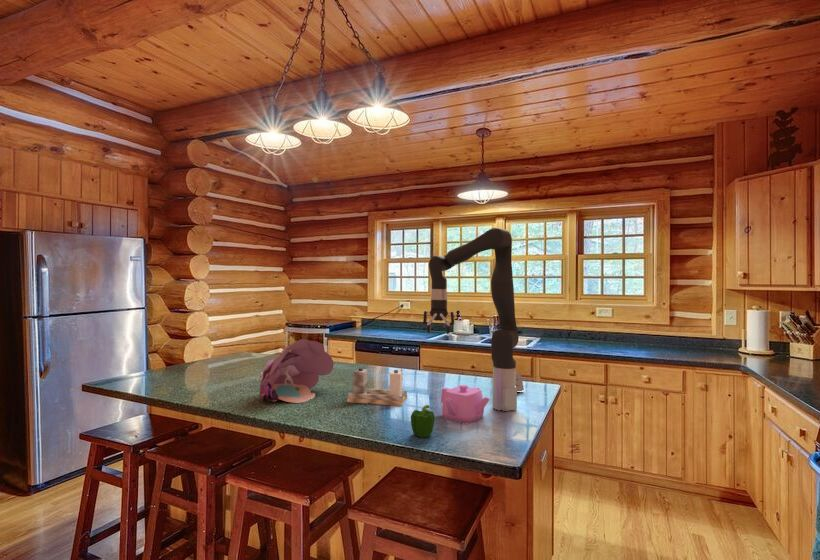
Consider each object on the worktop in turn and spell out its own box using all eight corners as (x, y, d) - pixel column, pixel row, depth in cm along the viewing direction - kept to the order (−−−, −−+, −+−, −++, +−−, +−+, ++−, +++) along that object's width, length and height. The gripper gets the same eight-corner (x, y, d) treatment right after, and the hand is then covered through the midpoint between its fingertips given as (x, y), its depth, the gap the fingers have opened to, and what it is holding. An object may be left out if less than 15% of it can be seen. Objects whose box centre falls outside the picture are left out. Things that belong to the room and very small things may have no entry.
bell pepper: (414, 440, 141) (414, 410, 141) (407, 432, 149) (408, 403, 149) (438, 438, 143) (438, 408, 143) (430, 430, 151) (431, 401, 151)
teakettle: (478, 410, 176) (478, 380, 176) (490, 424, 159) (491, 390, 159) (437, 411, 174) (437, 380, 174) (445, 425, 157) (446, 391, 157)
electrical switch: (508, 394, 201) (507, 374, 202) (501, 392, 205) (500, 373, 206) (524, 392, 205) (523, 372, 206) (517, 391, 209) (516, 371, 210)
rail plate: (407, 398, 192) (407, 367, 192) (402, 405, 180) (402, 373, 180) (355, 394, 196) (356, 365, 197) (347, 402, 185) (347, 370, 185)
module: (402, 396, 189) (402, 369, 190) (399, 399, 184) (399, 371, 184) (392, 395, 190) (392, 368, 190) (389, 399, 184) (389, 371, 184)
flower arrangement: (290, 421, 174) (300, 355, 169) (241, 404, 180) (249, 340, 176) (330, 391, 207) (339, 335, 203) (287, 378, 213) (295, 324, 209)
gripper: (422, 298, 197) (422, 334, 197) (453, 299, 195) (453, 335, 195) (425, 298, 205) (424, 332, 205) (455, 298, 202) (454, 333, 202)
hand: (438, 333), depth 200 cm, fingers open, 8 cm apart
